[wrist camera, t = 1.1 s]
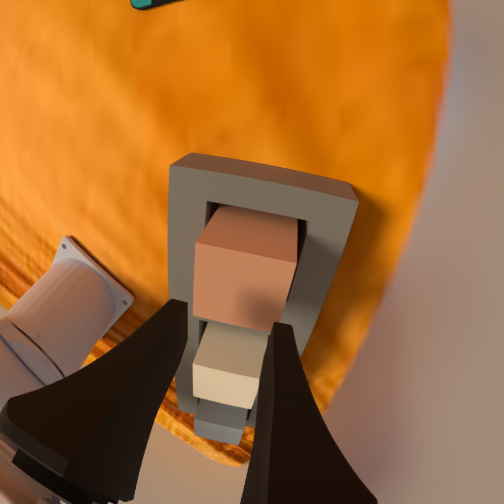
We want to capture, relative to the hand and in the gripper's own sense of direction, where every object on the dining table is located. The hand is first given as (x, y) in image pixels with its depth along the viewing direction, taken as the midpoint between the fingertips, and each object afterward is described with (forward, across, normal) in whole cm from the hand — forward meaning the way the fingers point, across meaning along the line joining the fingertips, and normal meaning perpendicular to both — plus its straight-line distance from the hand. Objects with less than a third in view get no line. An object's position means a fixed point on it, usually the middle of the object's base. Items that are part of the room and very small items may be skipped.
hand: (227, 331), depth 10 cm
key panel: (+8, 0, +8) cm, 12 cm away
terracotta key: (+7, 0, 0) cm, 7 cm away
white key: (+7, 0, +8) cm, 10 cm away
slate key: (+7, 0, +16) cm, 17 cm away
